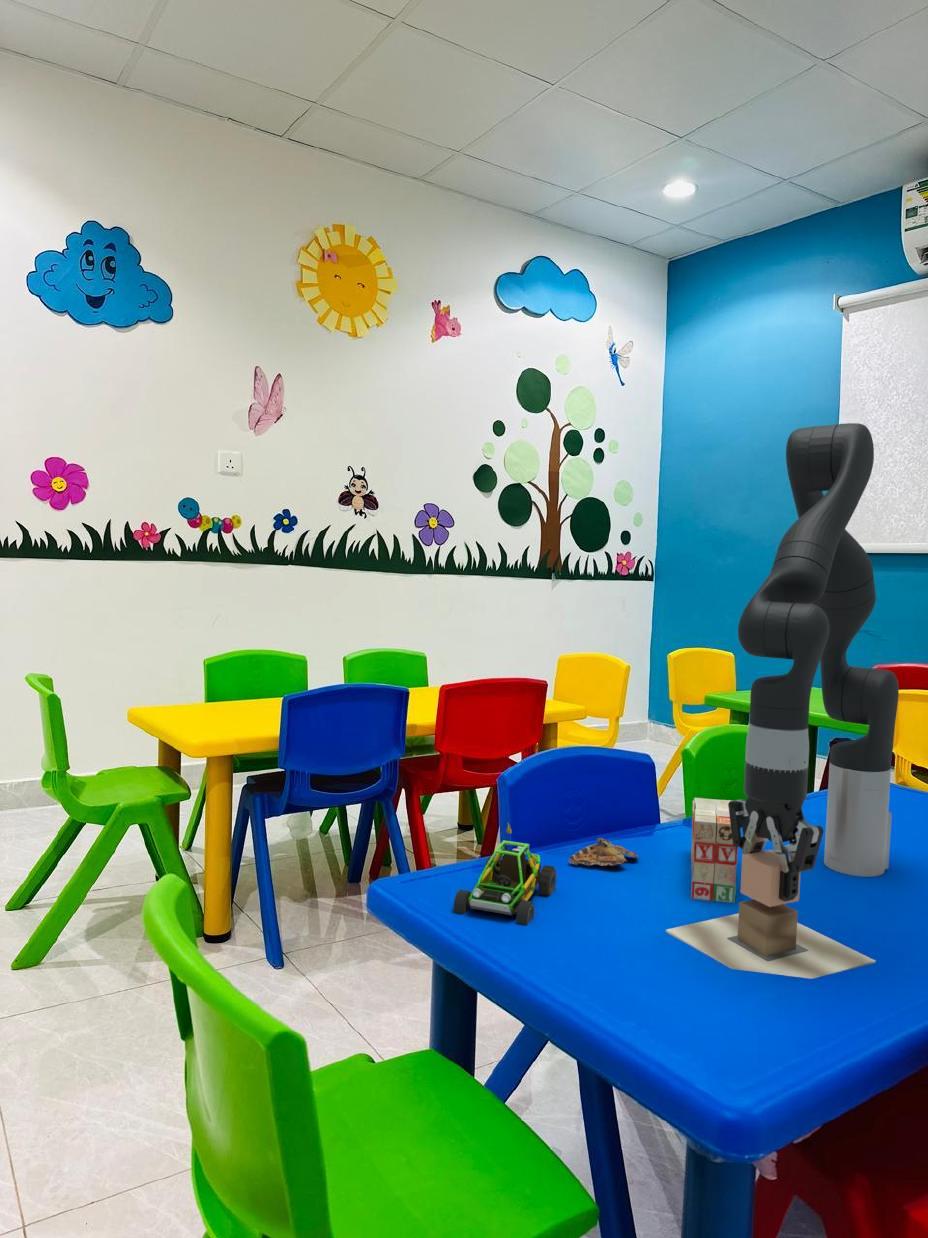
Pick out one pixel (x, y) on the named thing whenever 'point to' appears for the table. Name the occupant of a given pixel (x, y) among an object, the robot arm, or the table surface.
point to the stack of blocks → (712, 851)
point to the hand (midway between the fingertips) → (769, 891)
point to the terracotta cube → (763, 878)
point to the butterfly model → (601, 854)
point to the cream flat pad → (805, 961)
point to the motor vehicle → (508, 883)
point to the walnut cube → (767, 927)
